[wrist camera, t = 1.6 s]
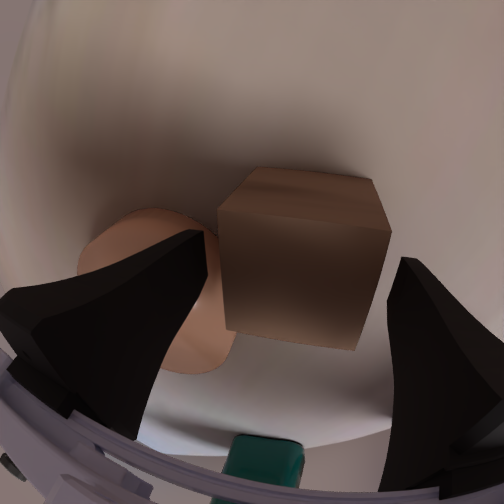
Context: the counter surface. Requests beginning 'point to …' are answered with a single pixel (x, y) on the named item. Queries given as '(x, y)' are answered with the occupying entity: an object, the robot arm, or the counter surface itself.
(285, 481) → the green plastic tall container
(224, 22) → the counter surface
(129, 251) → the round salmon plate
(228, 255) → the walnut cube
